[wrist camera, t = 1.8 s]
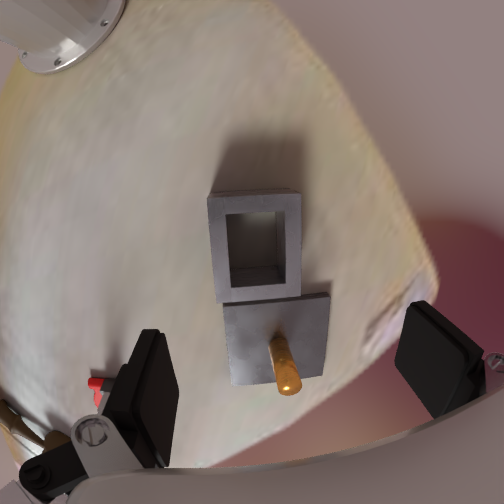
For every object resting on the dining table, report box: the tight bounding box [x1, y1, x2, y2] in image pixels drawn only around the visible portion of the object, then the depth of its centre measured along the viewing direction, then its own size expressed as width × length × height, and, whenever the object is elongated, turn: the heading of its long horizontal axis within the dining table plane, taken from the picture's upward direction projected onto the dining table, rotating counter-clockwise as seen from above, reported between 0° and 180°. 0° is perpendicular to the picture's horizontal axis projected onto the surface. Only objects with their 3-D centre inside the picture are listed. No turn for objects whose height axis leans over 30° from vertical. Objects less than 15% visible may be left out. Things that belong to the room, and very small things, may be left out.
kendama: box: [0, 400, 71, 454], centre depth 29 cm, size 6×10×20 cm
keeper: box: [223, 292, 330, 396], centre depth 25 cm, size 10×10×7 cm
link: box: [207, 188, 302, 303], centre depth 23 cm, size 8×7×4 cm
